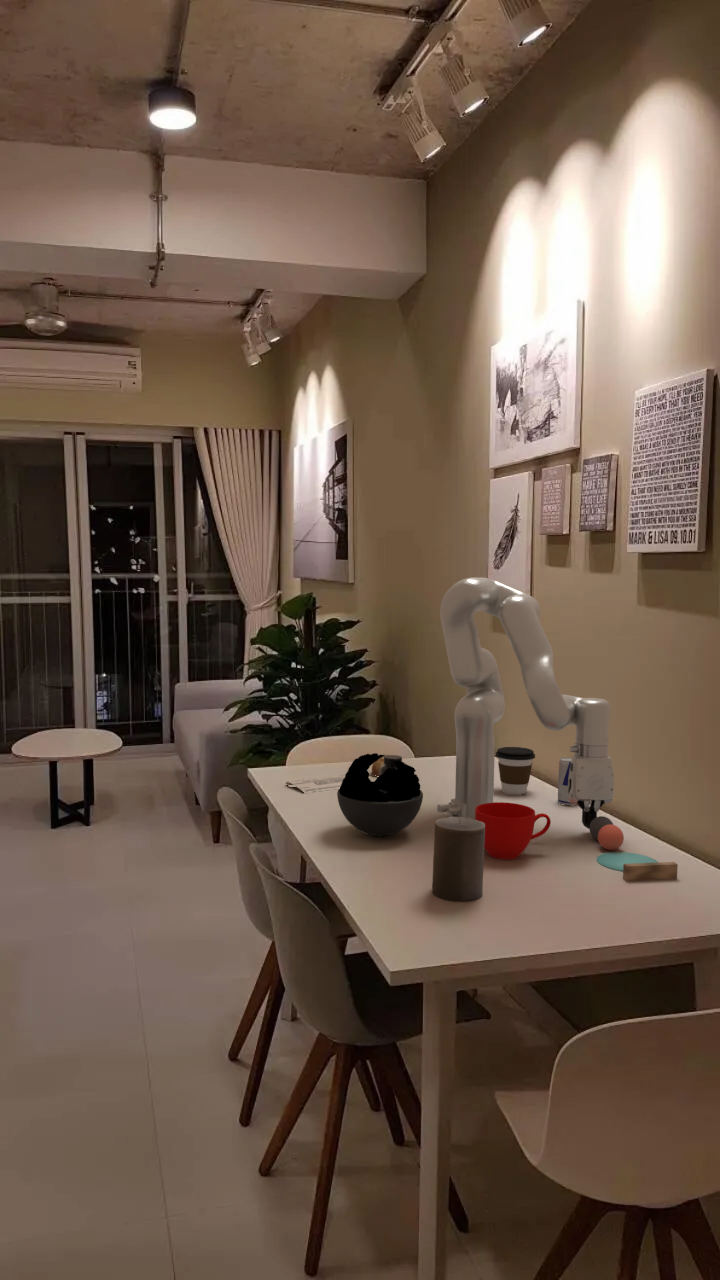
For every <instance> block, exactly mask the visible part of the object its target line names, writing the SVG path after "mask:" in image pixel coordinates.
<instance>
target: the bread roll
mask: <svg viewBox="0 0 720 1280" xmlns="http://www.w3.org/2000/svg"><path fill="white" fill-rule="evenodd" d="M384 755H385V756H387V755H389V753H388V754H384ZM385 756H384V757H385ZM384 757H382V758H380V759H379V760H378V761H376V762H374V763H373V764H372V765H371V774H372V776H373V775H376V776H380V769H381V767H382V766H384V765H385V764H384Z"/></svg>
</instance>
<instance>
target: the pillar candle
mask: <svg viewBox="0 0 720 1280" xmlns="http://www.w3.org/2000/svg"><path fill="white" fill-rule="evenodd" d="M434 822H435V823H434V835H433V836H434V838H433V859H432V884H431V885H432V886H431V889H432V890H431V891H432V893H433V894H434V895H435V896H436V897H437V898H440V899H444V900H447V901H451V902H454V903H455V902H457V903H458V902H471V901H476V900H478V899H480V898H482V897H483V891H484V890H483V888H484V884H483V883H484V882H483V881H484V861H485V860H484V858H485V849H484V842H485V824H484V823H483V822H481V821H477V820H474V819H469V818H462V817H449V816H448V817H441V818H438V819H436V820H435V821H434Z"/></svg>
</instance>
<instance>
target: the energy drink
mask: <svg viewBox="0 0 720 1280" xmlns="http://www.w3.org/2000/svg"><path fill="white" fill-rule="evenodd" d="M571 760H572V757H560V758H559V761H558V778H557V779H558V782H557V786H558V787H557V803H558V804H559V803H560V804H559V805H561V804H564V805H575V806H577V805H576V804H572V803H570V802H568V796H569V794H568V778H569V770H570V765H571ZM564 805H563V806H564Z"/></svg>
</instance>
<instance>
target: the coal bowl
mask: <svg viewBox="0 0 720 1280" xmlns="http://www.w3.org/2000/svg"><path fill="white" fill-rule="evenodd" d="M384 756H385V754H378V753H376V752H375V753H371V754H370V753H366V754H364V755H359V756H358V757H357V758H355V759H354V760H353V761H352V762H351V764H350V766H349V767H348V769H347V771H346V772H345V774H344V775H345V778H344V779H343V781H342V784H341V786H340V789H337V793H336V796H337V801H338V806H339V808H340V811H341V813H342V814H343V816H344V818H345V819H346V821H347V822H348V823H350V825H351V826H353V827H354V828H356V829H357V830H359V831H360V832H362V833H363V834H364V833H365V834H367V835H370V836H375V837H376V836H378V837H382V836H383V837H384V836H389V835H390V836H391V835H393V834H397V833H399V832H401V831H402V830H404V829H405V828H407V827H408V826H409V825H410V824H411V823H412V822H413V821H414V820H415V819H416V817H417V815H418V813H419V812H420V809H421V807H422V803H423V798H424V793H423V791H422V790H421V784H420V783H419V782H420V778H419V777H418V775H417V774H415V772H417V770H416V769H415V767H413V766H412V765H409V764H407V763H405V761H404V762H403V761H402V762H401V761H395V762H394V764H395V766H396V767H397V769H392V770H391V769H390V768H388V769H387V770H385V772H384V774H381V775H380V776H379V777H376V779H375V780H374V781H372V780H371V779H370V778H369V777H370V772H369V769H370V767H372V765H373V763H374V762H376V761H378V760H379V759H380V758H382V757H384Z"/></svg>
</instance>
